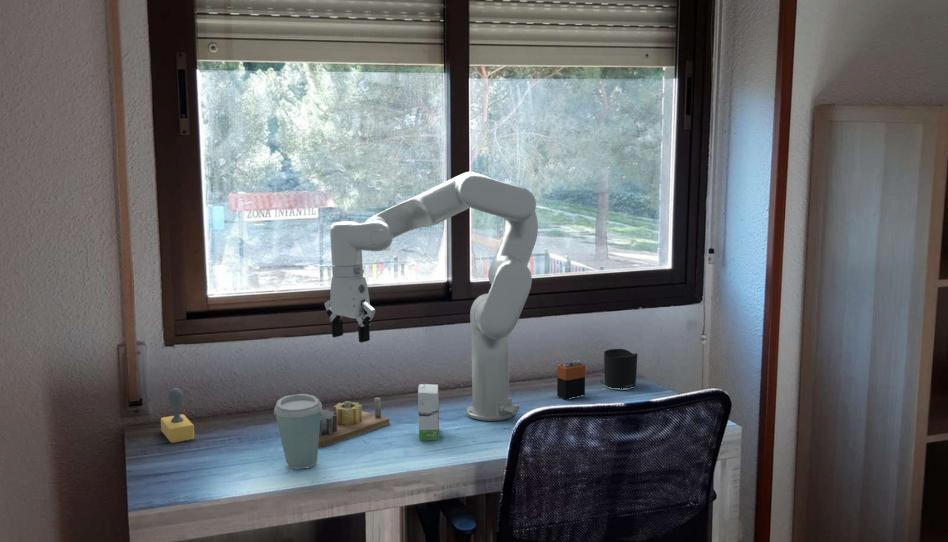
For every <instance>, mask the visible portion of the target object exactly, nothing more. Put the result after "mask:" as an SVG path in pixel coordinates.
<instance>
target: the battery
mask: <svg viewBox="0 0 948 542" xmlns="http://www.w3.org/2000/svg"><path fill="white" fill-rule="evenodd" d="M556 367H557V373H556V374H557V375H556V376H557V377H556V378H557V382H556V384H557V388H556V391H557V392H556V393H557V394H556V395H557V397H558V396H559V397H558V398H560V397H562V398H565V399H569V398H572V397H577V396H581V395H585V396H586V365H585V364H584V363H581V360H579V359H573V360H572V361H571V362H563V363H562V364H558V365H557V366H556ZM562 398H561V399H562ZM565 399H564V400H565Z"/></svg>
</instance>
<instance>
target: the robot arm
mask: <svg viewBox="0 0 948 542" xmlns="http://www.w3.org/2000/svg"><path fill="white" fill-rule="evenodd" d="M470 208H471V209H474V210H476V211H479V212H483V213H485V214H489V215H492V216H495V217H498V218H503V221H504V230H503V234H502V238H501V240H500V243H499V246H498V247H497V250H496V252H495V256H494V257H493V260H492V262H491V265H490V267H489V269H488V272H487V273H488V274H487V275H488V276H487V277H488V281H489V283H490V285H491V286H490V288H489V290H488V293H483V294H481V295H479V296H478V297H477V298H475V299H474V301H473V302H472V305H471V307H470V312H469V314H470V315H469V317H470V318H469V322H470V330H471V381H472V382H471V385H472V387H471V388H472V389H471V395H472V396H471V397H472V398H471V401H472V402H471V403H472V404H471V405H470V406H468V407H467V408H466V410H465V411H466V416H468V417H469V418H471V419H475V420H477V421H483V422H484V421H486V422H495V421H496V422H497V421H505V420H508V419H510V418H512V417H515V416H516V415H517V414H518V411H519V410H520V406H519V405H517V404H513V398H512V397H510V371H509V370H510V358H509V357H510V341H509V340H510V339H509V335H510V334H511V333H512V332H513V330H514V329H515V327H516V326H517V324H518V322H519V319H520V316H521V314H522V311H523V309H524V307H525V304H526V301H527V299H528V297H529V294H530V292H531V291H530V290H531V288H532V281H533V278H532V274H531V270H530V268H529V267H528V265H529V263H530V259H531V257H532V254H533V251H534V248H535V246H536V242H537V240H538V239H537V238H538V233H539V222H538V216H537V212H536V209H537V200H536V198H535V195H534V194H533V192H531V191H530V190H529V189H528V188H525V187H522V186H520V185H516V184H511V183H509V182H504V181H501V180H499V179H494V178H492V177H489V176H487V175H484V174H482V173H479V172H475V171H465V172H463V173H461V174H459V175H456V176H454V177H453V178H450V179H448V180H446V181H444V182H443V183H440V184H438V185H435V186H434V187H432V188H430V189H428V190H426V191H424V192H421V193H419V194H418V195H415V196H413V197H411V198H409V199H407V200H405V201H402V202H400V203H398V204H396V205H393V206H391V207H390V208H386V209H384V210H383V211H381V212H379V213H377V214H374V215H373V216H370V217H369V218H367V219H366V220H364V222H363V223H359V222H356V221H354V220H352V221H351V220H349V221H348V220H345V221H337V222H333V223H332V224H331V225H330V227H329V231H330V232H329V234H330V235H329V236H330V252H331V253H330V254H331V272H332V274H331V275H332V276H331V279H330V280H331V282H330V295H329V296H330V297H329V298H330V299H329V300H327V301H325V302H324V307H325V310H326V314H327V316H328V317H329V322H331V336H332V338H338V337H341V336H344V325H343V323H344V322H343V319H342V318H343V317H344V318H348V319H349V318H350V319H355V320H356V322H357V323H358V325H359V326H358V327H357V329H358V331H357V332H358V342H359V343H365V342H369V341H371V340H370V339H371V336H370V335H371V334H370V332H371V331H370V325H372V322H373V320H374V316H375V314H376V309H375V308H374V307H373V306H372V305H371V303H370V293H369V287H368V282H367V279H366V276H364V272H365V269H363V268H364V266H363V251H366V252H367V251H369V252H381V251H384V250H387V249H388V248H389V247H390V246H391V244H392V243H393V240H394V239H395V238H397V237H398V236H401V235H403V234H405V233H407V232H410V231H413V230H416V229H420V228H430V227H432V226H435V225H438V224H441V223H442V222H444V221H446V220H448V219H449V218H451V217H454V216H456V215H457V214H460V213H462V212H464V211H467V210H469V209H470Z"/></svg>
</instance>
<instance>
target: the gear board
mask: <svg viewBox="0 0 948 542" xmlns="http://www.w3.org/2000/svg"><path fill="white" fill-rule="evenodd" d="M381 399H382V398H381V397H374V413H370V412H368V411H364V410H362V422H360V423H359V424H357V425H356V424H354V425H349V426H345V425H337V415H336V412H335V411H334V410H333V411H331V410H330V409H322V410H321V418H320V430H319V442H318V448H320V447H322V448H325V447H327V446H330V444H331V445H333V444H336V442H337V443H339V442H343V441H345V440H349V439H351V438H354V437H357V436H360V435H363V434H366V433H369V432H372V431H374V430H377V429H381V428H383V427H387V426H389V425H390V418H387V417H383V416H382V406H381V404H382V403H381V402H382V401H381ZM350 402H351V401H348V400H346V401H344V402H343V403H344V408H351V406H350ZM368 431H369V432H368ZM365 432H366V433H365ZM362 433H363V434H362ZM359 434H360V435H359ZM356 435H357V436H356ZM350 437H351V438H350Z"/></svg>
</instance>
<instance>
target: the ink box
mask: <svg viewBox="0 0 948 542" xmlns="http://www.w3.org/2000/svg"><path fill="white" fill-rule="evenodd" d="M439 403H440V399H439V384H429V383H421V384H418V388H417V405H418V407H417V408H418V412H417V414H418V415H417V416H418V418H417V419H418V438H419V441H439V440H440V404H439Z"/></svg>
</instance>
